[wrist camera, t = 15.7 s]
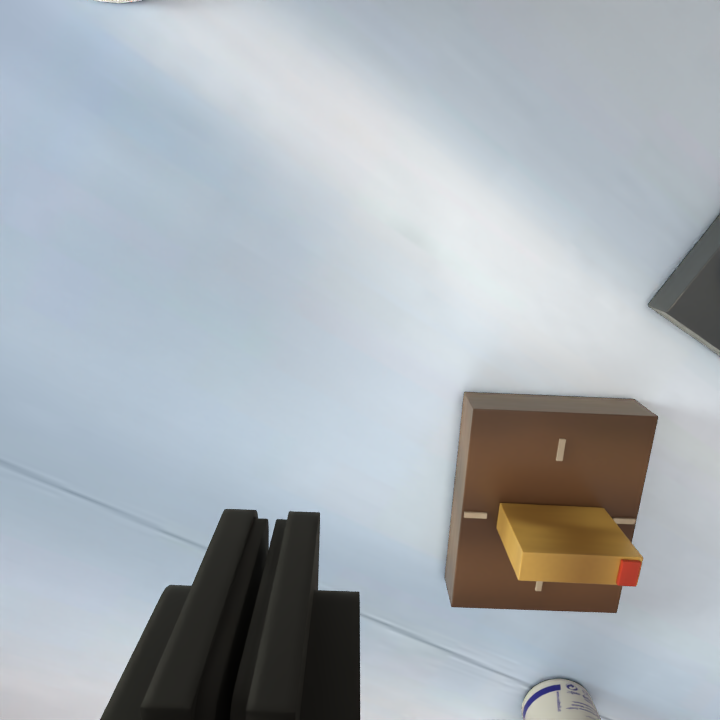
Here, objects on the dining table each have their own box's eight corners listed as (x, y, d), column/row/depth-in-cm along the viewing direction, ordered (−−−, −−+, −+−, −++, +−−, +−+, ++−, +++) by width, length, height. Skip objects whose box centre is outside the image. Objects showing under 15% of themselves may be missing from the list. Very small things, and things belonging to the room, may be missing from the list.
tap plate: (463, 391, 36) (473, 409, 32) (634, 398, 36) (660, 417, 33) (444, 577, 39) (451, 609, 36) (598, 583, 40) (618, 615, 37)
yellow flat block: (496, 527, 35) (519, 583, 30) (499, 502, 34) (524, 554, 29) (598, 532, 35) (639, 589, 30) (604, 507, 34) (645, 560, 29)
